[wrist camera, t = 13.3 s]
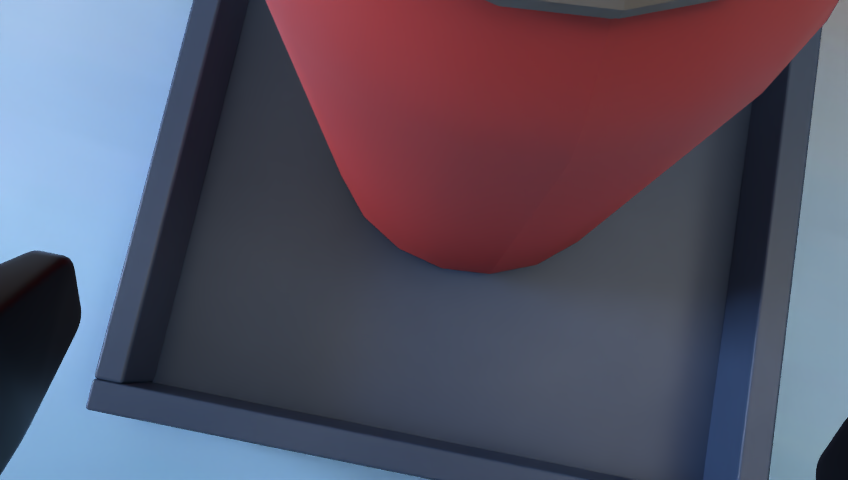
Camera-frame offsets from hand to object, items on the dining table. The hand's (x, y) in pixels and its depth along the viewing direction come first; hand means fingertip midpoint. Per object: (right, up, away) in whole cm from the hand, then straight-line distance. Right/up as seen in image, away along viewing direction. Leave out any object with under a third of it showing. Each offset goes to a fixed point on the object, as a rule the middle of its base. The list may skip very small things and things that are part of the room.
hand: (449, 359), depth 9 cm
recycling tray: (+1, +4, +9) cm, 10 cm away
